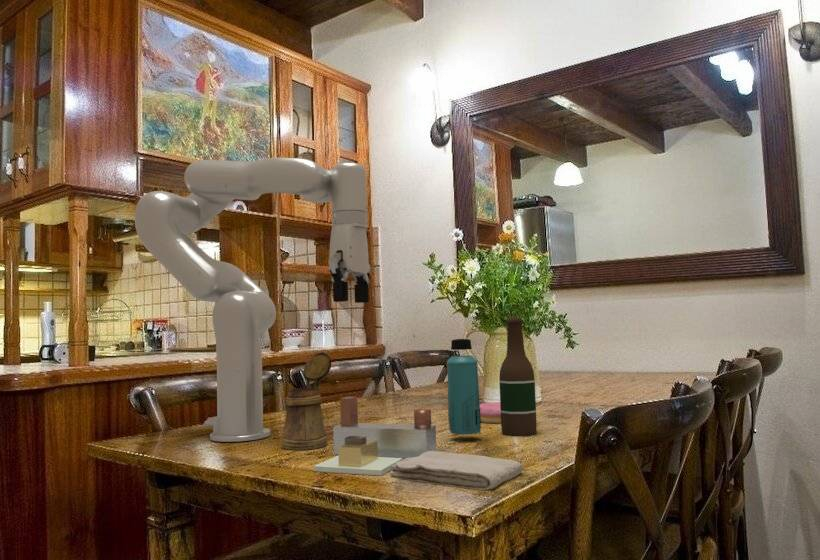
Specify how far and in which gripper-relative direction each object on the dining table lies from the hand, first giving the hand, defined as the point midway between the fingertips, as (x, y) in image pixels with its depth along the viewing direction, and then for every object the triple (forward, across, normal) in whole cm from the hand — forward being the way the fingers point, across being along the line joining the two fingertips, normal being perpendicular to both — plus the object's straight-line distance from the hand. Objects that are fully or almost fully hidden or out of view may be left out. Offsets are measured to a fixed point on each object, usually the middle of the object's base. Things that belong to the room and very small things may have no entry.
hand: (351, 302), depth 133 cm
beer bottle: (+28, -12, +32) cm, 44 cm away
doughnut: (+29, -28, +24) cm, 46 cm away
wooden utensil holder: (+28, +8, -6) cm, 30 cm away
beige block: (+28, +24, +13) cm, 39 cm away
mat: (+28, +24, +13) cm, 40 cm away
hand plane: (+28, +14, +13) cm, 34 cm away
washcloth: (+29, +26, +30) cm, 49 cm away
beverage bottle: (+28, -3, +23) cm, 37 cm away
